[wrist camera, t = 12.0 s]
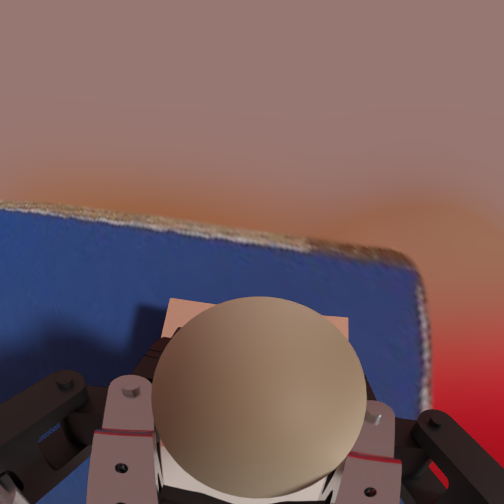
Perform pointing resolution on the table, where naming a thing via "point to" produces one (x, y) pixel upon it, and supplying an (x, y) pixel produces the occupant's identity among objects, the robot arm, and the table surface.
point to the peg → (258, 397)
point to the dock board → (172, 472)
